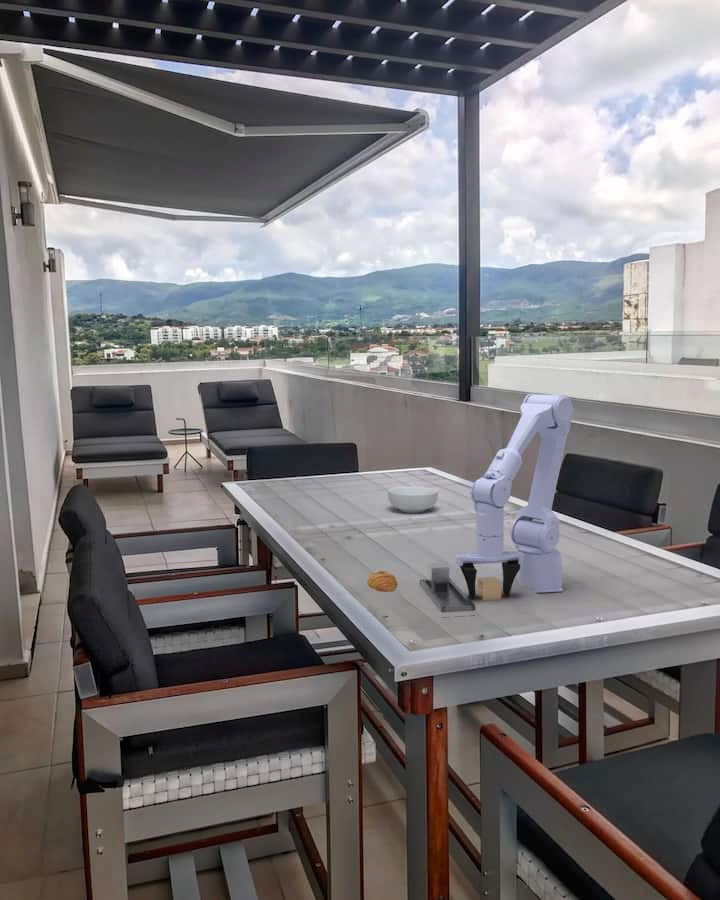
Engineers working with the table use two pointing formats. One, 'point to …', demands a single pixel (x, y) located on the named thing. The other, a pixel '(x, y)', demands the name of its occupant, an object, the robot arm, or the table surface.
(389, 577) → the pastry
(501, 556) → the robot arm
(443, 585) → the steel block
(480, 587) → the wooden block with cap
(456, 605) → the tray
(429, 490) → the cereal bowl
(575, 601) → the table surface
